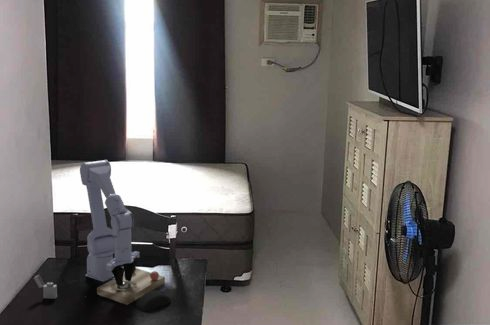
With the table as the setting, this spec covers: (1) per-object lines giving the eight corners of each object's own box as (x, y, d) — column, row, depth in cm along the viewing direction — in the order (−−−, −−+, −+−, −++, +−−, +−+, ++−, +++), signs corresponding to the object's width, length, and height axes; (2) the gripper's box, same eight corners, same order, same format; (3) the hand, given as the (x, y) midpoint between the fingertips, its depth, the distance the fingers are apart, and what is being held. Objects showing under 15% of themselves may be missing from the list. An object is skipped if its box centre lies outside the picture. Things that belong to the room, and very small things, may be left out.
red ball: (148, 280, 190) (148, 272, 189) (153, 277, 193) (153, 269, 192) (155, 282, 189) (155, 274, 188) (160, 279, 191) (160, 271, 191)
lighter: (57, 296, 182) (56, 274, 180) (55, 298, 180) (54, 277, 178) (36, 295, 182) (35, 274, 180) (34, 298, 180) (33, 276, 178)
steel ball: (117, 291, 185) (117, 283, 184) (124, 287, 187) (123, 279, 187) (124, 294, 183) (124, 285, 182) (130, 290, 186) (130, 281, 185)
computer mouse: (172, 302, 180) (172, 292, 179) (143, 313, 173) (143, 301, 172) (162, 296, 184) (162, 285, 184) (134, 305, 177) (133, 294, 176)
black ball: (125, 273, 195) (125, 265, 195) (131, 270, 198) (131, 262, 197) (131, 275, 194) (131, 267, 193) (137, 272, 197) (137, 264, 196)
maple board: (97, 294, 184) (96, 287, 183) (135, 274, 201) (135, 268, 200) (127, 304, 177) (127, 298, 176) (164, 283, 194) (164, 276, 193)
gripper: (116, 255, 174) (117, 293, 177) (145, 242, 186) (146, 277, 189) (101, 251, 177) (102, 288, 180) (130, 238, 189) (131, 273, 192)
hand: (123, 282), depth 185 cm, fingers open, 4 cm apart
